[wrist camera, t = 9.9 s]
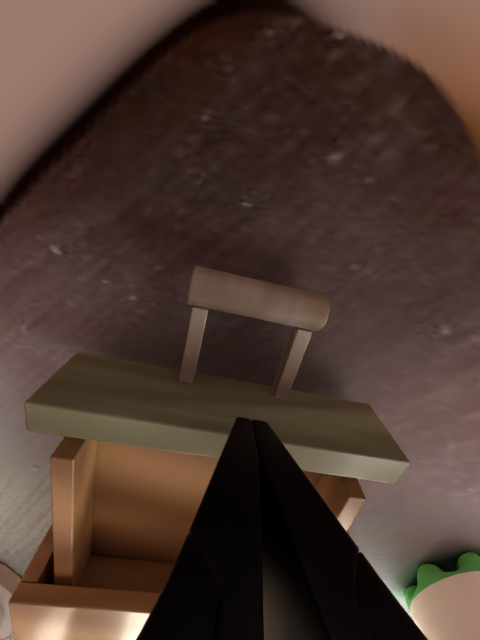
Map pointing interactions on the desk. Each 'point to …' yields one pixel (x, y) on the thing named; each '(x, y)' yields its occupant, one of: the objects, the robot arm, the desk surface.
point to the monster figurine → (6, 598)
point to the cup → (447, 600)
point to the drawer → (188, 439)
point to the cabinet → (73, 606)
